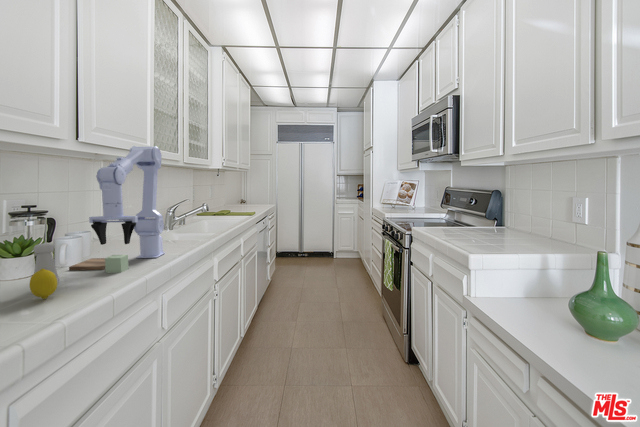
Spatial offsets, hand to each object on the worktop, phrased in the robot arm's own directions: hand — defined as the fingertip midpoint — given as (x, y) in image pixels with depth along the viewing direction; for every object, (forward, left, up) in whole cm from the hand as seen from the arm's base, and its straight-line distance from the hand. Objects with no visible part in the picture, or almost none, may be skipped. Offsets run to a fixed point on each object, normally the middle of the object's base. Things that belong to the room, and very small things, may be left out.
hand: (115, 243), depth 113 cm
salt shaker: (+19, -10, -10) cm, 23 cm away
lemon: (+27, -5, -10) cm, 29 cm away
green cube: (-1, -1, -10) cm, 10 cm away
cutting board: (-9, -12, -9) cm, 17 cm away
